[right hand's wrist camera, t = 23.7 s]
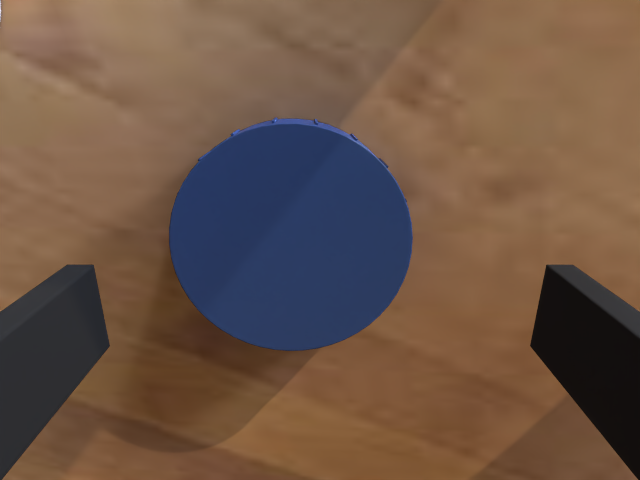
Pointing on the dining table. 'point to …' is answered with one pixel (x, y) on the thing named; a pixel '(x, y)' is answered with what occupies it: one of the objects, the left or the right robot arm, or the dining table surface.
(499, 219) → the dining table surface
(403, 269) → the lid
